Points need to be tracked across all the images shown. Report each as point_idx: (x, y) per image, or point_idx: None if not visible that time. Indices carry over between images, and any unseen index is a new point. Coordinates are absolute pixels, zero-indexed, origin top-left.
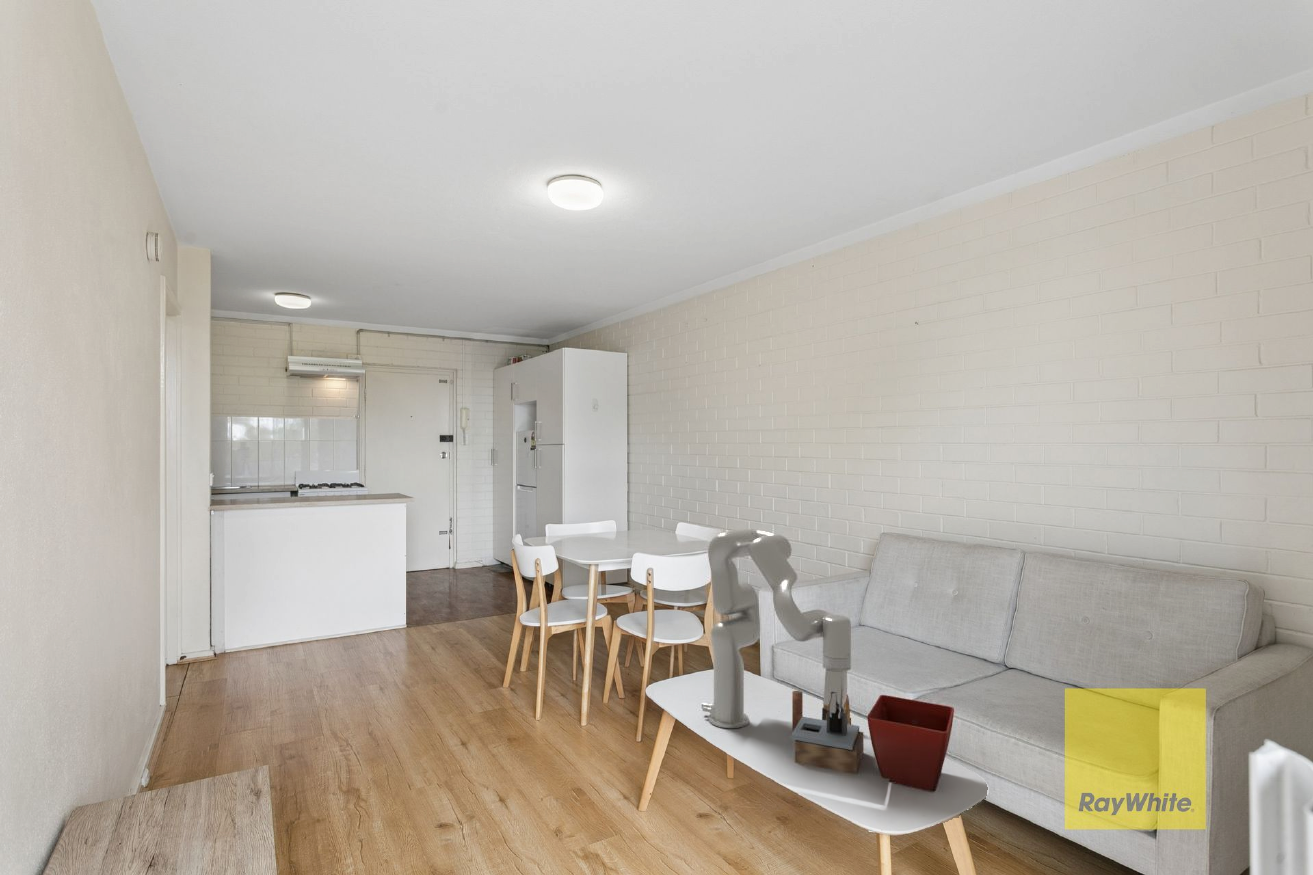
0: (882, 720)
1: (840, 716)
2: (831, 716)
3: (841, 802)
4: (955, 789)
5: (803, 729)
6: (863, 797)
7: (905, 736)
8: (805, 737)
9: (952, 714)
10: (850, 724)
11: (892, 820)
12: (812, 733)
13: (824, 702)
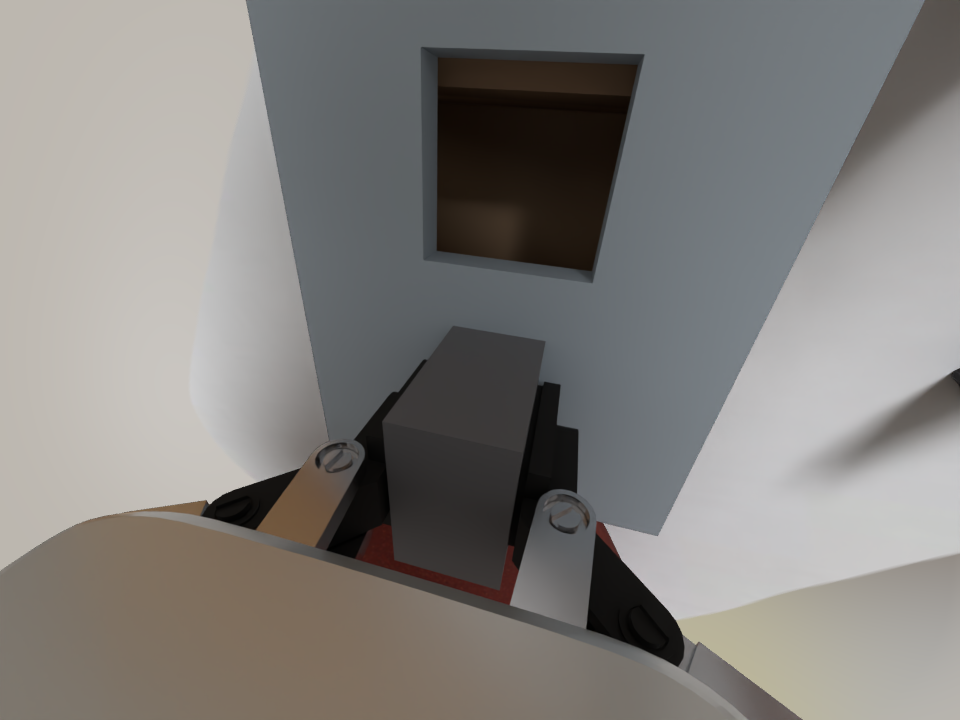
0: None
1: (370, 530)
2: (319, 461)
3: (215, 323)
4: None
5: (600, 66)
6: (288, 388)
7: None
8: (277, 148)
9: None
10: None
11: (224, 440)
12: (380, 206)
13: (9, 565)
